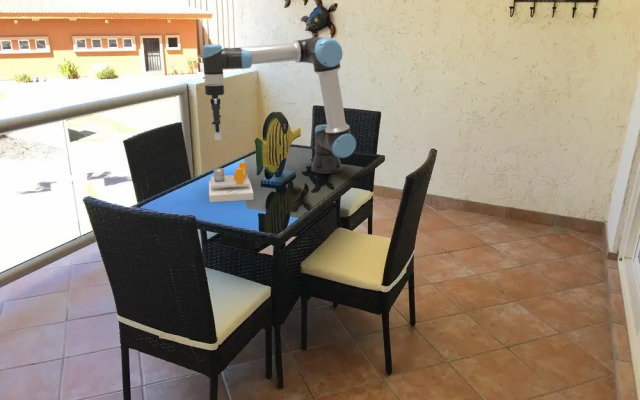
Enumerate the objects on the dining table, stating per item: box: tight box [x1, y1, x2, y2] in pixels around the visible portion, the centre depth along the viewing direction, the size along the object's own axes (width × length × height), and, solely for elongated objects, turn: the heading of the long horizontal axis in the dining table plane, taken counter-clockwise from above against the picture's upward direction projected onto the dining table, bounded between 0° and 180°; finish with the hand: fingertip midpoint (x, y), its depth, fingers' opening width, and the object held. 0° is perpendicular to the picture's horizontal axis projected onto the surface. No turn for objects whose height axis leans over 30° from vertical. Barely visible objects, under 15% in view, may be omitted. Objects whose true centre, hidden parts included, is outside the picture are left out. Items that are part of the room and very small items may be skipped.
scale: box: [208, 173, 254, 203], centre depth 213 cm, size 18×20×6 cm
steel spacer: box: [213, 167, 225, 182], centre depth 212 cm, size 4×4×5 cm
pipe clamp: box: [233, 161, 247, 184], centre depth 212 cm, size 12×4×6 cm, turn 0°
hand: (217, 136), depth 206 cm, fingers open, 13 cm apart
